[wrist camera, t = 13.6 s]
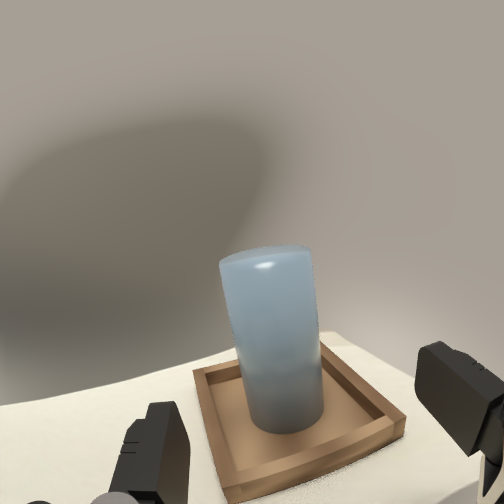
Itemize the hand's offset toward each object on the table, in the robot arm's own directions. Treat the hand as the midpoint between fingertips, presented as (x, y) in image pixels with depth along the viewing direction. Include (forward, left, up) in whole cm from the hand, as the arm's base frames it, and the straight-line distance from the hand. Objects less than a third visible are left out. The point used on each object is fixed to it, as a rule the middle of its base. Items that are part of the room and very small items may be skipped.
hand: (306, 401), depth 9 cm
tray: (+2, +11, -10) cm, 15 cm away
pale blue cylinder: (+2, +11, -10) cm, 15 cm away
